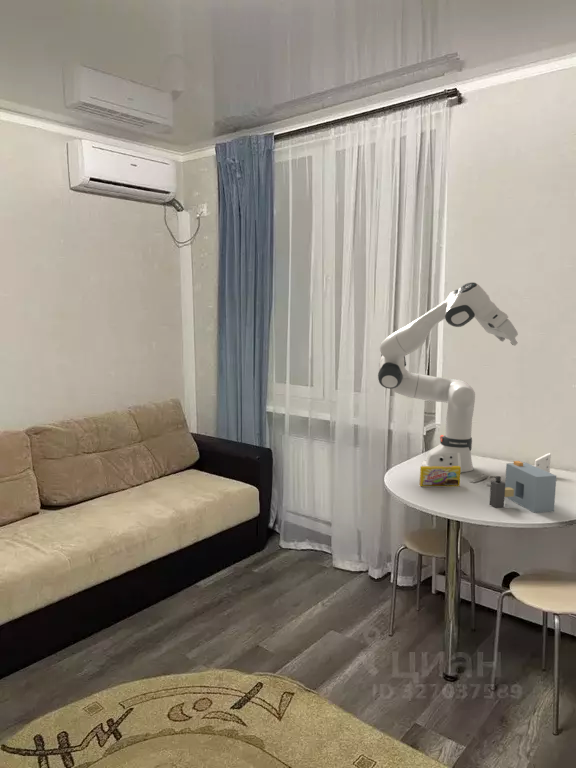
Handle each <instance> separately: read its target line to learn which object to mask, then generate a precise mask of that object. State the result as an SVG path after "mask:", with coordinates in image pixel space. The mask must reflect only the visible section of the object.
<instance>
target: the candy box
mask: <svg viewBox="0 0 576 768" xmlns="http://www.w3.org/2000/svg"><path fill="white" fill-rule="evenodd" d="M419 469H420V471H419V485H420V486H446V487H460V485H461V483H460V482H461V473H462V472H461V467H460V466H420V468H419ZM460 472H461V473H460ZM420 486H419V487H420Z"/></svg>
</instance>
